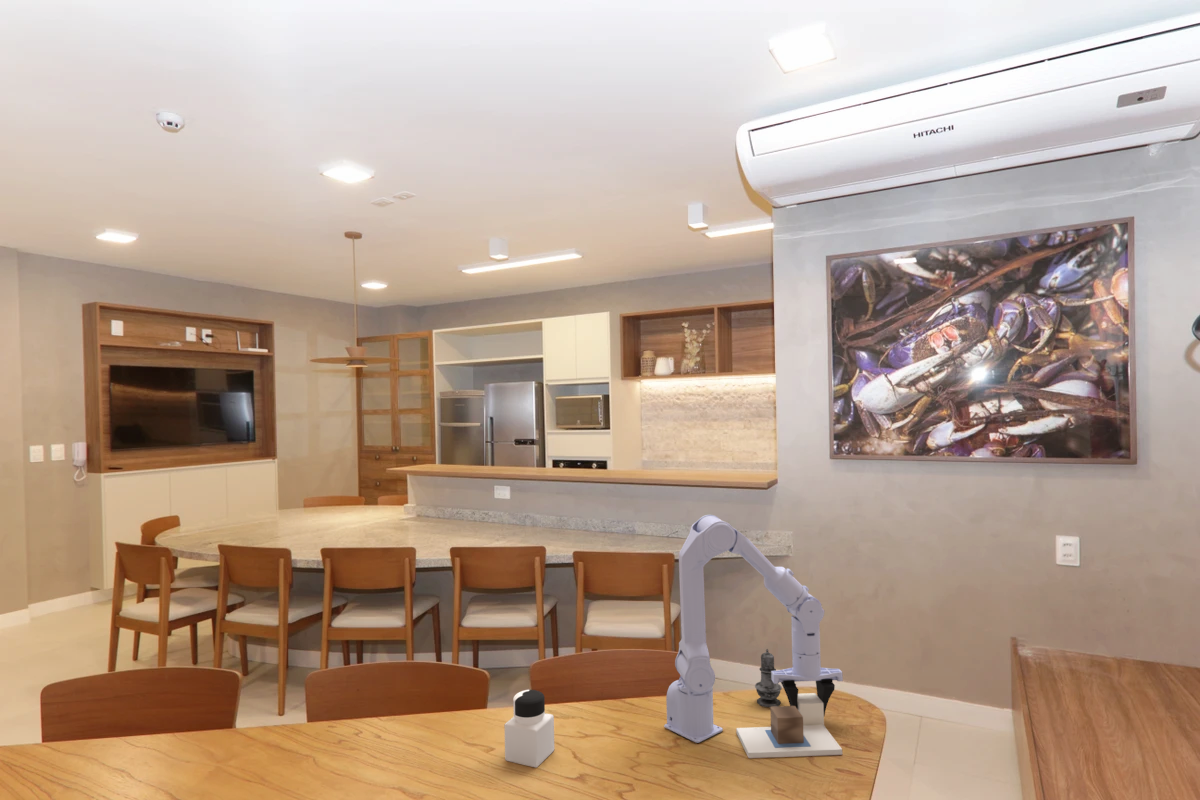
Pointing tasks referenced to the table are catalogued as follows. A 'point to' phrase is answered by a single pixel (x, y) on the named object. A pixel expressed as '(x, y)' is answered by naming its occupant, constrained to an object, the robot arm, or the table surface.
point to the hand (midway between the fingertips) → (807, 715)
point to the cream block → (811, 709)
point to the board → (765, 745)
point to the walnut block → (787, 724)
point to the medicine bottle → (529, 730)
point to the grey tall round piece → (767, 683)
